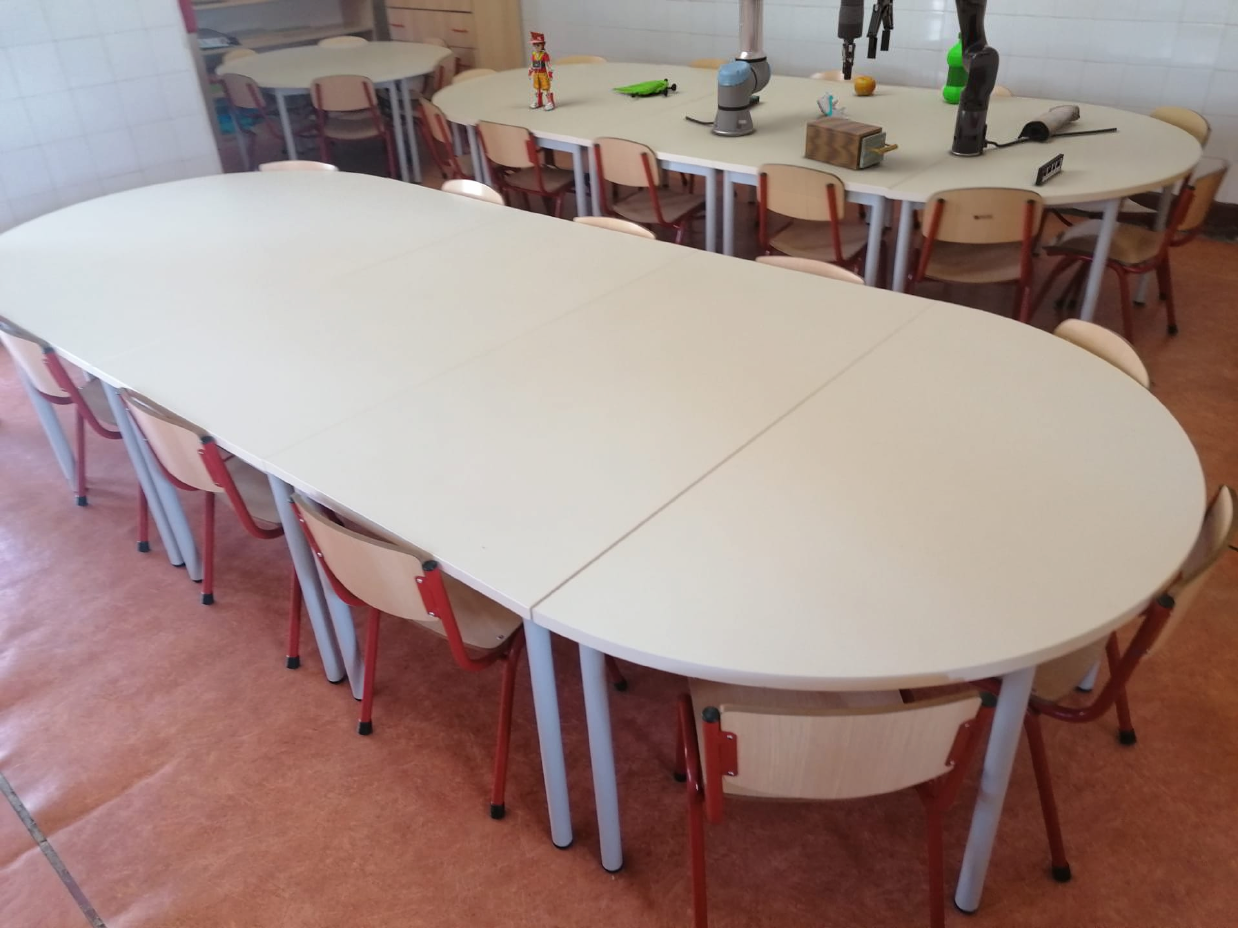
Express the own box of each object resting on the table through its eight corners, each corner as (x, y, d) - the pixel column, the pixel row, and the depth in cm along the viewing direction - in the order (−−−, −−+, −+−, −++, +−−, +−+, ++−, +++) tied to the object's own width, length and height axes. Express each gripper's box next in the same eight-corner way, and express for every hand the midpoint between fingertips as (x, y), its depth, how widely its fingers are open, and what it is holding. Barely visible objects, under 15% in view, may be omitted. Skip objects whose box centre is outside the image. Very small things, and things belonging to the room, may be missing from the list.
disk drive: (744, 111, 360) (759, 102, 370) (744, 104, 358) (760, 95, 368) (721, 109, 365) (737, 100, 375) (721, 102, 363) (737, 93, 373)
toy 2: (686, 85, 398) (631, 84, 414) (685, 72, 395) (629, 72, 411) (651, 104, 381) (596, 103, 397) (650, 92, 378) (594, 91, 394)
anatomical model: (812, 91, 345) (837, 84, 345) (815, 118, 351) (840, 111, 351) (822, 101, 333) (849, 93, 332) (825, 128, 339) (851, 121, 338)
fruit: (849, 87, 368) (861, 69, 365) (851, 91, 376) (863, 73, 373) (866, 98, 367) (878, 80, 364) (868, 102, 375) (880, 84, 372)
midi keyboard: (1039, 185, 269) (1043, 168, 266) (1035, 184, 270) (1038, 168, 267) (1060, 170, 279) (1064, 154, 277) (1056, 169, 280) (1060, 153, 277)
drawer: (898, 164, 290) (901, 135, 285) (877, 171, 285) (880, 142, 280) (834, 149, 308) (836, 121, 303) (814, 155, 303) (816, 127, 298)
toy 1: (525, 109, 381) (517, 32, 364) (534, 104, 388) (527, 28, 371) (550, 110, 377) (543, 32, 360) (559, 105, 384) (553, 28, 367)
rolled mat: (1047, 110, 326) (1071, 92, 318) (1060, 131, 326) (1086, 114, 318) (1013, 133, 309) (1038, 115, 301) (1028, 155, 309) (1053, 137, 301)
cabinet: (878, 162, 297) (882, 127, 290) (855, 170, 291) (859, 134, 284) (827, 149, 311) (830, 116, 305) (804, 157, 305) (806, 123, 299)
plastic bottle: (973, 101, 354) (984, 32, 339) (955, 106, 349) (966, 36, 335) (952, 97, 361) (962, 29, 346) (934, 102, 356) (944, 33, 342)
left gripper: (884, -9, 285) (876, 62, 297) (908, -20, 302) (900, 48, 314) (861, -10, 289) (854, 61, 301) (886, -20, 306) (879, 47, 318)
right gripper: (865, 24, 269) (860, 81, 278) (861, 16, 280) (857, 71, 289) (839, 25, 270) (835, 82, 279) (837, 17, 281) (833, 72, 291)
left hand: (877, 55), depth 307 cm, fingers open, 13 cm apart
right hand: (846, 76), depth 284 cm, fingers open, 8 cm apart
